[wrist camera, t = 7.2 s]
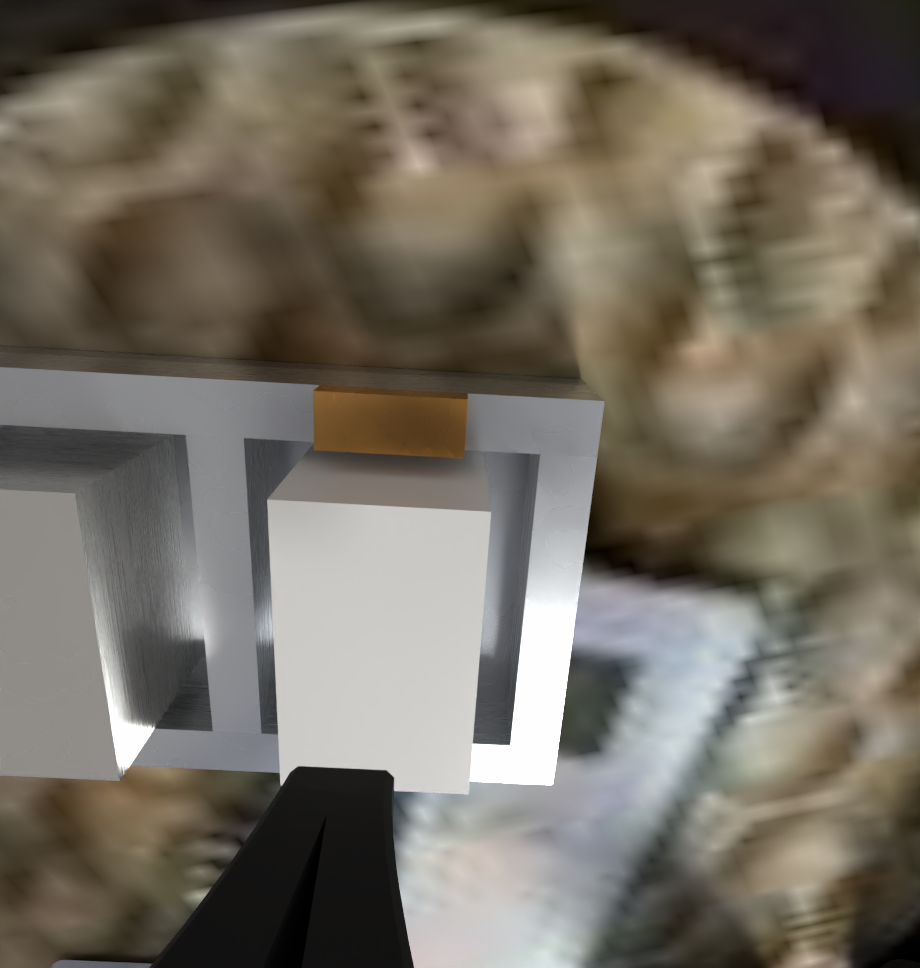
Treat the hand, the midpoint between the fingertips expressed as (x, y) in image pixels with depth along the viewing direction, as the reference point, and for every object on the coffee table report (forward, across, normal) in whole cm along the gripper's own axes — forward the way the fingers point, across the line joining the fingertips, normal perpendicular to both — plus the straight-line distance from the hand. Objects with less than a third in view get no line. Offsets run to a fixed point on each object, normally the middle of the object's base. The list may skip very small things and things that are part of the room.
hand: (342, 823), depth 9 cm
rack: (+8, +4, 0) cm, 9 cm away
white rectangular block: (+8, 0, 0) cm, 8 cm away
